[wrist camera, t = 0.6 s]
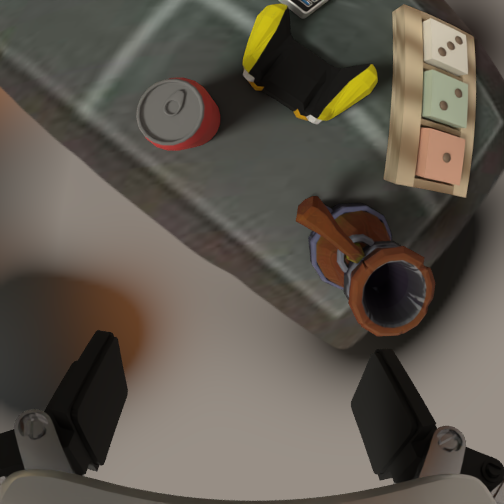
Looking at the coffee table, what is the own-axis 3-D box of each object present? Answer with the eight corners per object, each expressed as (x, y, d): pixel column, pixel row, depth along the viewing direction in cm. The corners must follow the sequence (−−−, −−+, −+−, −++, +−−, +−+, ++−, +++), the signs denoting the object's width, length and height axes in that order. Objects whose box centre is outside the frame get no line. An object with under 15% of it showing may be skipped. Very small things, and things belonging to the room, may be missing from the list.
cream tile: (420, 23, 26) (431, 17, 23) (455, 38, 26) (466, 35, 23) (421, 61, 28) (433, 58, 25) (456, 76, 28) (468, 74, 26)
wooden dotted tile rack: (392, 12, 27) (403, 4, 24) (460, 40, 28) (473, 36, 25) (383, 179, 36) (395, 183, 33) (451, 192, 37) (465, 197, 33)
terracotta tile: (419, 127, 31) (430, 128, 28) (454, 138, 31) (466, 139, 29) (413, 174, 33) (425, 177, 31) (448, 182, 33) (460, 185, 31)
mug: (249, 215, 37) (254, 265, 23) (313, 144, 34) (360, 151, 20) (345, 298, 42) (385, 367, 28) (402, 239, 39) (465, 289, 25)
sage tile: (421, 72, 28) (433, 69, 26) (456, 85, 29) (468, 84, 26) (420, 116, 30) (431, 115, 28) (454, 127, 31) (467, 128, 28)
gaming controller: (268, 11, 28) (221, 71, 31) (273, -7, 23) (217, 59, 26) (369, 81, 31) (327, 140, 34) (388, 73, 26) (341, 142, 29)
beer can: (231, 108, 32) (227, 94, 21) (202, 156, 34) (184, 166, 23) (182, 83, 31) (156, 60, 20) (155, 131, 33) (116, 130, 22)
